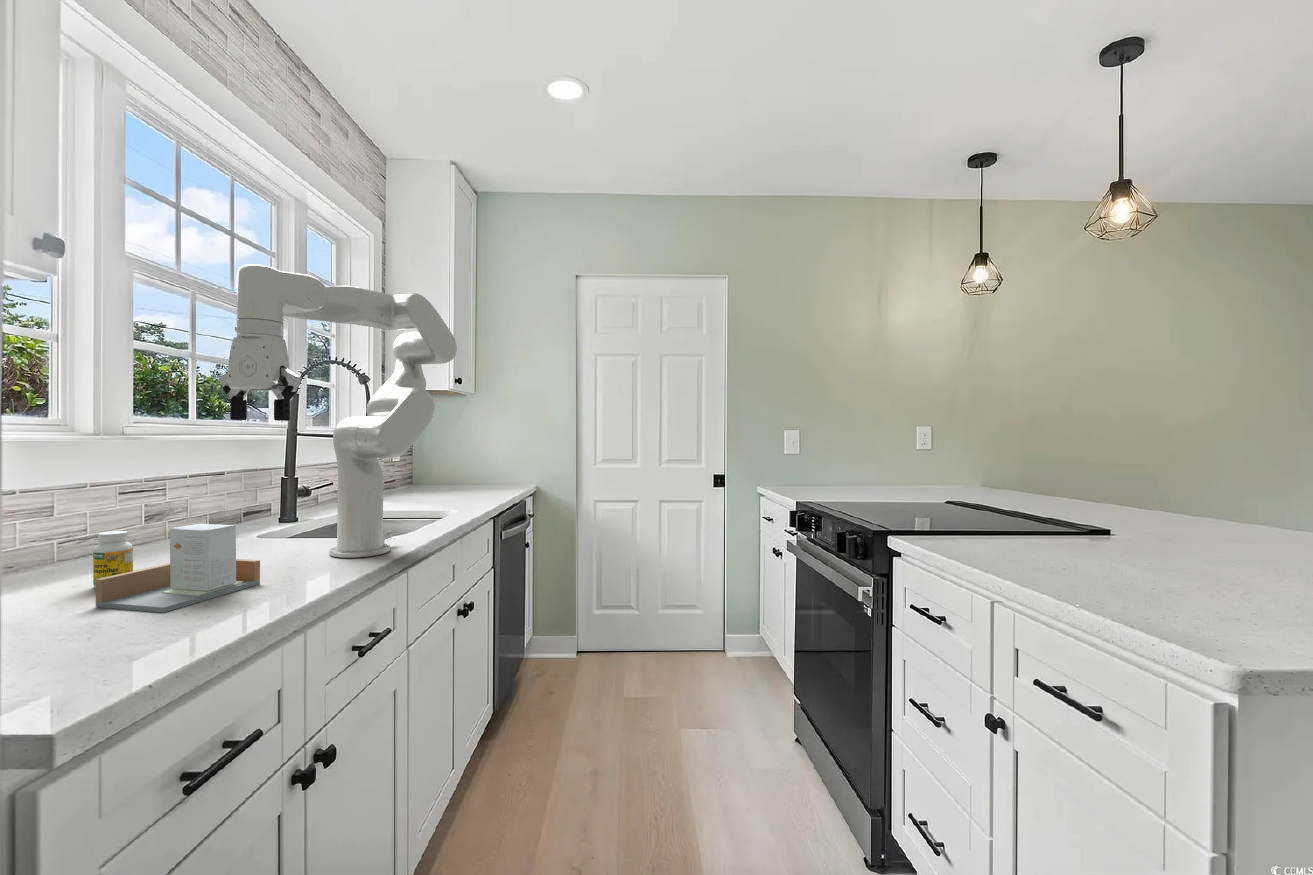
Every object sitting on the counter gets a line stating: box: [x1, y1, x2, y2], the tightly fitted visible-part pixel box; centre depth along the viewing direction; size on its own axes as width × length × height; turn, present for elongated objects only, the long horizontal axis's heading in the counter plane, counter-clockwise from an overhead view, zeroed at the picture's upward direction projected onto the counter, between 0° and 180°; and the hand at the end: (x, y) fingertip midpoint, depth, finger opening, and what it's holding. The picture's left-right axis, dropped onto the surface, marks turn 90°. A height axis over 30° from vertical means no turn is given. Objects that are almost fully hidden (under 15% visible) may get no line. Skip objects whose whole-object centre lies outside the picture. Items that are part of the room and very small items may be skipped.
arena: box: [95, 558, 261, 613], centre depth 104 cm, size 18×13×4 cm
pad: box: [162, 581, 244, 596], centre depth 105 cm, size 9×7×1 cm
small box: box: [169, 523, 237, 591], centre depth 105 cm, size 8×6×10 cm
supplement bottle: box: [92, 530, 134, 589], centre depth 109 cm, size 5×5×10 cm
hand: (260, 420), depth 117 cm, fingers open, 9 cm apart
